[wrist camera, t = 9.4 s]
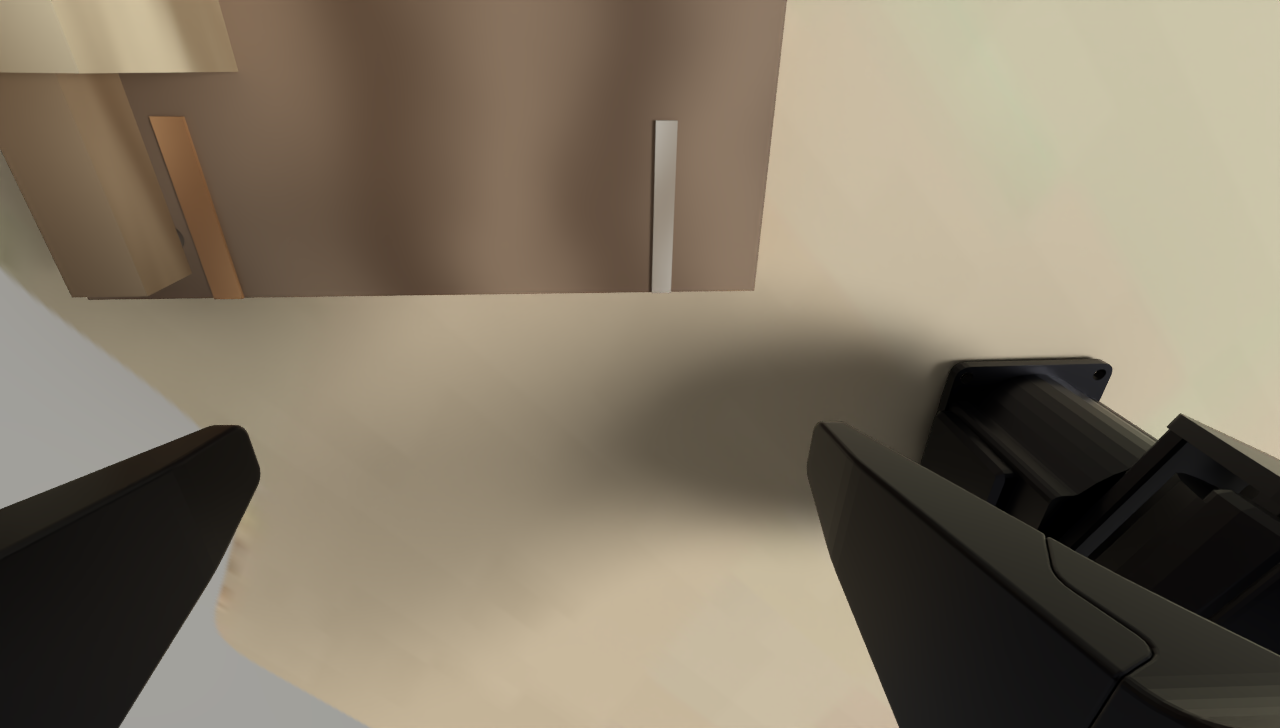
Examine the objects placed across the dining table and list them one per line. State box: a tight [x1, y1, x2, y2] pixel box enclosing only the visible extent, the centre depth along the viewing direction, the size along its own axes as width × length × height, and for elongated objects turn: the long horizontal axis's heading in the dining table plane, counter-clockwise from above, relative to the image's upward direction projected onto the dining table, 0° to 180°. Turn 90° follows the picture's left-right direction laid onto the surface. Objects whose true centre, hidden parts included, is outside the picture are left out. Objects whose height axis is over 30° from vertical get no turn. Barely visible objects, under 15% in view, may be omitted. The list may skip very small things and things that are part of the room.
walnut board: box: [87, 0, 787, 300], centre depth 15 cm, size 20×12×2 cm, turn 89°
